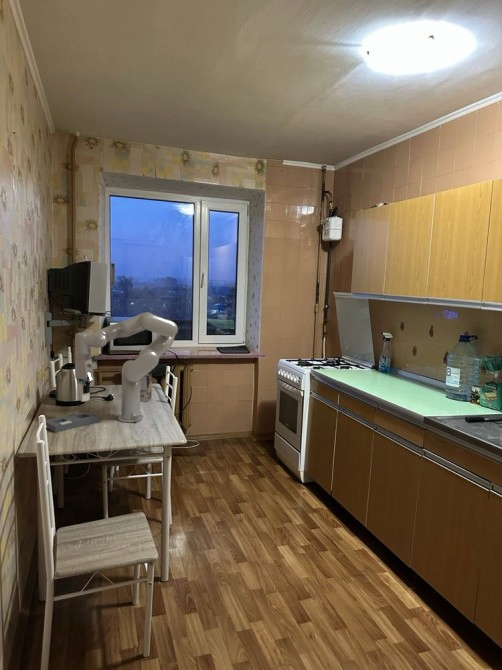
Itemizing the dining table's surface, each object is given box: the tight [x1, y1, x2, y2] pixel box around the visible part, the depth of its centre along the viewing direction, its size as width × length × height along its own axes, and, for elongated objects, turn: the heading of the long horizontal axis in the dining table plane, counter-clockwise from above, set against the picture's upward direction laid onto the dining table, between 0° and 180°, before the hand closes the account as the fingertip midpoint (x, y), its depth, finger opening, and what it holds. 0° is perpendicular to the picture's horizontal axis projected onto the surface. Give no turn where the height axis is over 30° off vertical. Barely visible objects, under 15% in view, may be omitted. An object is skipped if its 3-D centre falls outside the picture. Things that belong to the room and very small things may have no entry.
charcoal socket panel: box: [46, 411, 101, 433], centre depth 223 cm, size 12×24×3 cm, turn 143°
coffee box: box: [140, 373, 153, 403], centre depth 274 cm, size 9×6×16 cm
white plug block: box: [77, 379, 91, 403], centre depth 227 cm, size 4×4×10 cm
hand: (83, 391), depth 227 cm, fingers closed on white plug block, 4 cm apart
